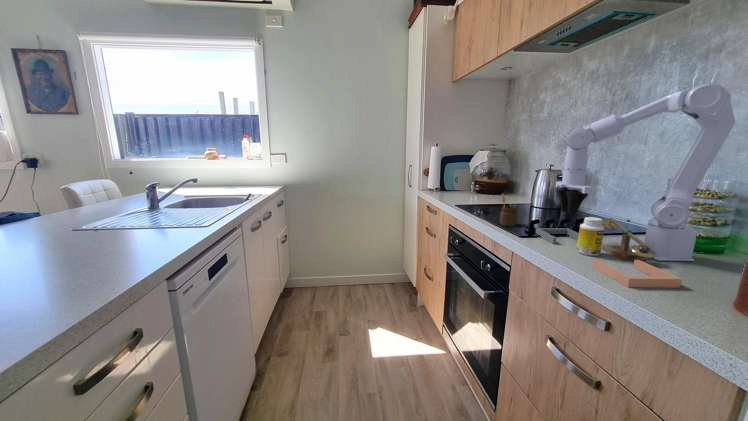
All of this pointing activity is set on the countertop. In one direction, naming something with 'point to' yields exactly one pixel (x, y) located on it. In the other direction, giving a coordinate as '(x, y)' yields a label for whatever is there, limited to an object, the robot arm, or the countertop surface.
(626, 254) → the stand
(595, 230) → the supplement bottle
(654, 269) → the frame
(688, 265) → the countertop surface
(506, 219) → the utensil holder
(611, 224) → the balance beam
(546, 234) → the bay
